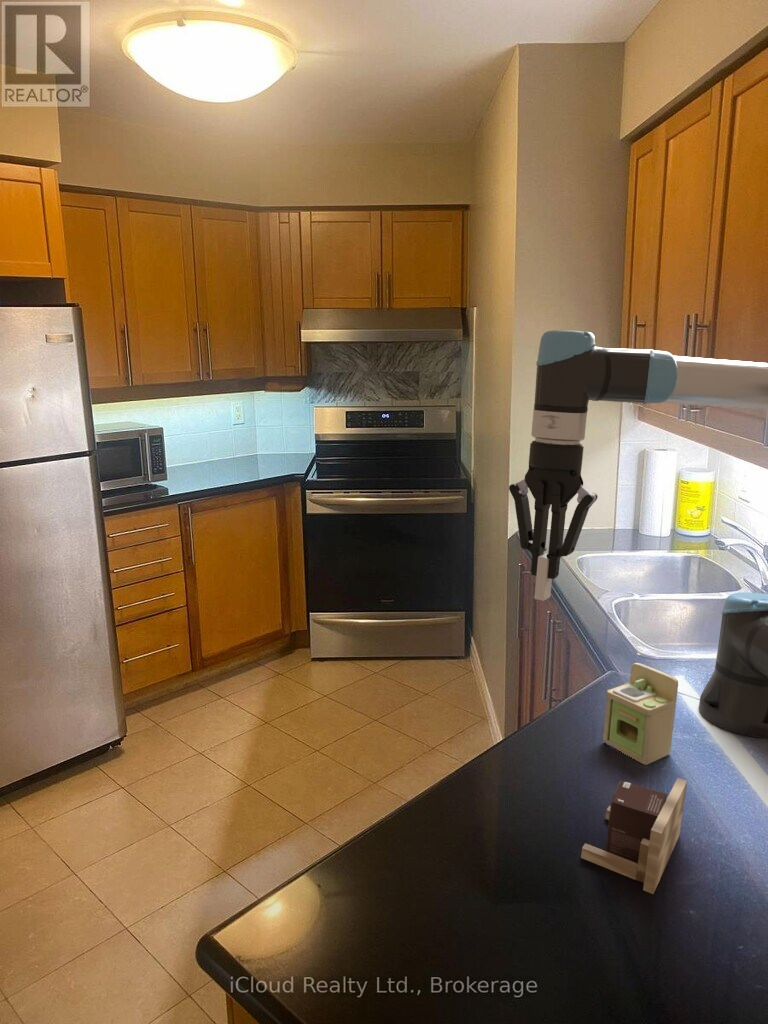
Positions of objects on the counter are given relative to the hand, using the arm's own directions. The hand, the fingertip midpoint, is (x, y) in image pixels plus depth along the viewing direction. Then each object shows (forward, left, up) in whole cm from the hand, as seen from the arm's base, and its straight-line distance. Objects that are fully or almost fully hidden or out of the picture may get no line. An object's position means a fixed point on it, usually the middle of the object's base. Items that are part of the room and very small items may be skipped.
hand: (542, 597), depth 112 cm
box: (+13, +20, -27) cm, 36 cm away
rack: (+13, +19, -26) cm, 35 cm away
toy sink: (-14, +13, -27) cm, 33 cm away
